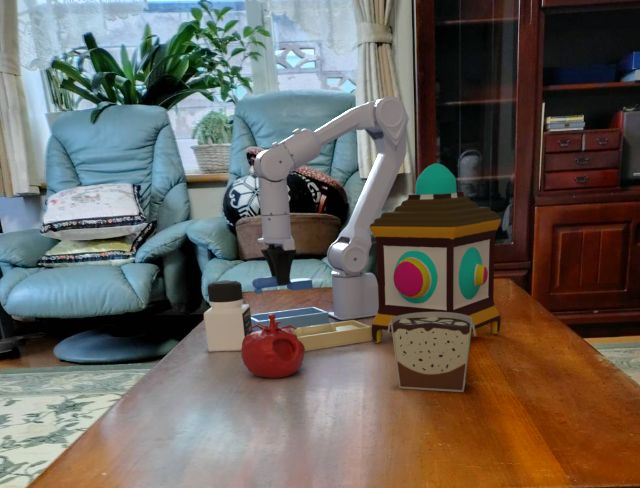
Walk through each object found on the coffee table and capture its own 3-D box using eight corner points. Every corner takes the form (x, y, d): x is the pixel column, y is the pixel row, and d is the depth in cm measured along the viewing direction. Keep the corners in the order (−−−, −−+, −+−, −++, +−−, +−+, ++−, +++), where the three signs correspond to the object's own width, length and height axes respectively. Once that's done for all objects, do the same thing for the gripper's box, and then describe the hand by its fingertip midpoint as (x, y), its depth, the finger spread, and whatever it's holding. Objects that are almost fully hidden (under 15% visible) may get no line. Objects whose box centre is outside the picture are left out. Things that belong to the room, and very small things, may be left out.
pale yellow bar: (352, 334, 130) (351, 318, 129) (360, 337, 127) (359, 321, 126) (292, 343, 125) (290, 326, 124) (299, 347, 122) (297, 330, 121)
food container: (482, 380, 99) (483, 312, 96) (474, 392, 94) (475, 321, 90) (400, 375, 103) (399, 310, 100) (389, 387, 98) (387, 318, 94)
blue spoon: (306, 286, 145) (305, 271, 144) (312, 288, 142) (311, 273, 141) (250, 292, 140) (249, 277, 139) (256, 295, 137) (254, 279, 136)
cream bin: (354, 333, 132) (353, 319, 131) (372, 340, 126) (371, 326, 125) (280, 344, 126) (279, 330, 125) (295, 352, 120) (294, 338, 119)
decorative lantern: (456, 357, 112) (458, 161, 101) (360, 344, 123) (352, 167, 113) (510, 332, 127) (516, 159, 116) (420, 323, 138) (418, 164, 127)
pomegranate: (232, 380, 105) (225, 320, 102) (262, 363, 114) (256, 308, 110) (289, 384, 102) (284, 322, 98) (316, 366, 110) (312, 309, 107)
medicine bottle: (247, 350, 123) (239, 283, 118) (207, 352, 123) (199, 285, 119) (253, 341, 129) (247, 277, 125) (216, 342, 129) (208, 279, 125)
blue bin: (314, 318, 147) (314, 306, 146) (328, 324, 140) (328, 312, 140) (247, 328, 141) (245, 315, 140) (258, 334, 135) (257, 321, 134)
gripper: (245, 214, 140) (252, 281, 145) (267, 217, 128) (273, 290, 133) (278, 212, 143) (283, 278, 148) (302, 214, 130) (307, 286, 135)
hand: (281, 283), depth 140 cm, fingers closed on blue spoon, 2 cm apart
